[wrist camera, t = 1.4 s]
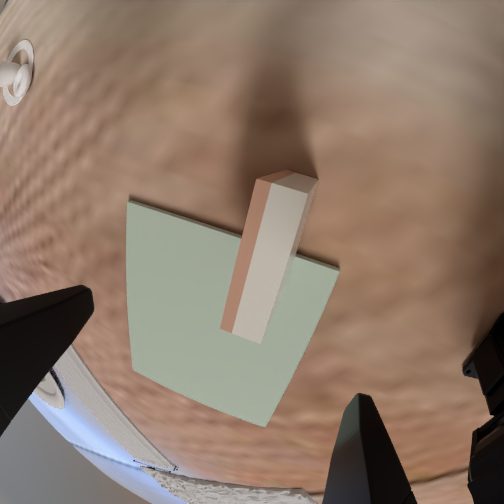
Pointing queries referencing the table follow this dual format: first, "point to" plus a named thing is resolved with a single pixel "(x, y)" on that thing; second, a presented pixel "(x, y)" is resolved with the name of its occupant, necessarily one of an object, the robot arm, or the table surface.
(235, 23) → the table surface
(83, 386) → the baseboard
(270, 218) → the tile
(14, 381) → the robot arm
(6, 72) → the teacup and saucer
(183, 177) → the table surface
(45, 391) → the plated food
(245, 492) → the carpet tile
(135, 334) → the mat
